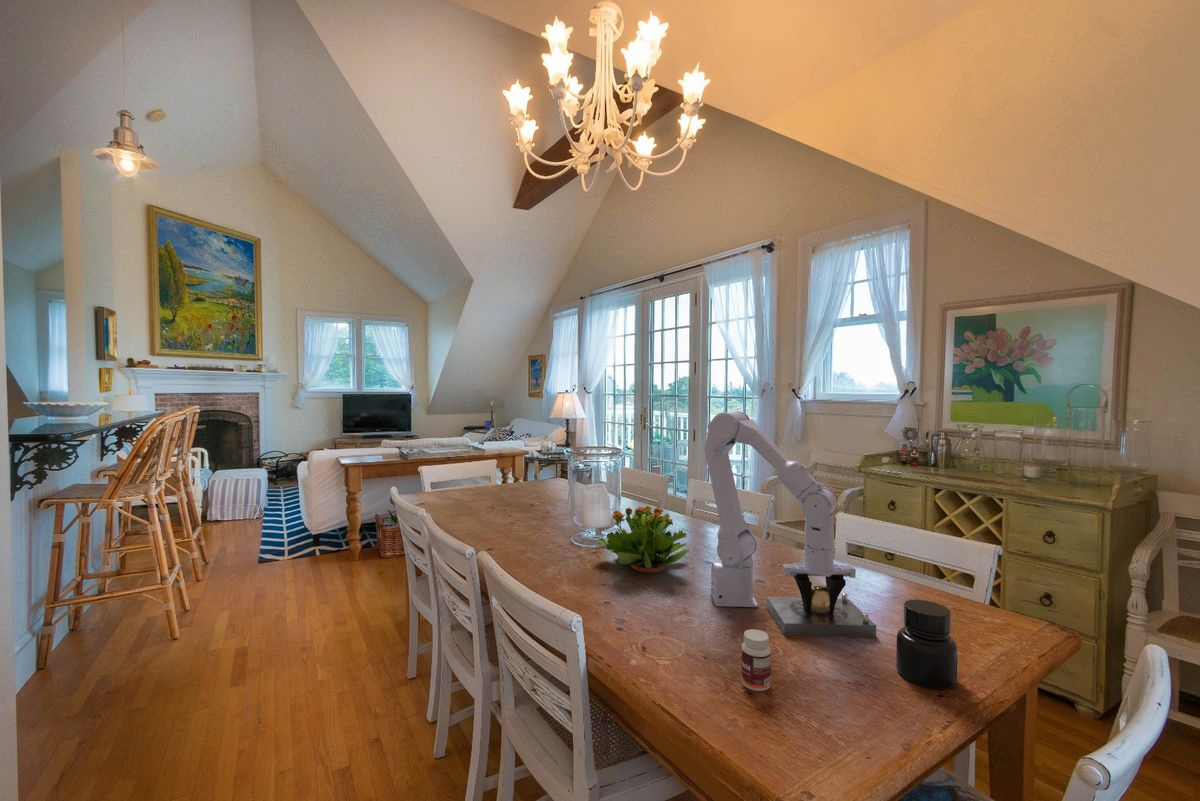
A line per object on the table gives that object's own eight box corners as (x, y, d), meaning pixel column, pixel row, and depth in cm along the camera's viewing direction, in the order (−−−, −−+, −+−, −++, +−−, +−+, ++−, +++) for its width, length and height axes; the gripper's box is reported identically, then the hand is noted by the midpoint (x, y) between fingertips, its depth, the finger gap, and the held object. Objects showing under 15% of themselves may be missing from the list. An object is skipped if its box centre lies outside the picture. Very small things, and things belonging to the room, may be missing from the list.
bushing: (810, 622, 107) (810, 591, 107) (805, 613, 111) (805, 583, 111) (832, 623, 106) (833, 592, 106) (826, 614, 111) (827, 584, 110)
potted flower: (670, 549, 157) (670, 493, 157) (713, 576, 135) (714, 510, 135) (594, 559, 149) (594, 499, 148) (626, 589, 126) (627, 519, 126)
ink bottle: (972, 686, 86) (973, 615, 85) (934, 697, 83) (936, 623, 82) (918, 657, 95) (919, 593, 94) (882, 666, 92) (883, 600, 91)
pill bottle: (736, 676, 88) (737, 628, 88) (763, 675, 89) (764, 627, 89) (747, 692, 84) (747, 642, 83) (775, 691, 84) (775, 641, 84)
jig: (784, 635, 103) (784, 615, 103) (766, 607, 116) (767, 589, 116) (876, 637, 102) (876, 617, 102) (848, 609, 115) (848, 591, 115)
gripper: (790, 551, 105) (789, 616, 106) (862, 552, 104) (861, 618, 105) (779, 541, 112) (779, 602, 113) (847, 542, 111) (846, 604, 112)
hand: (818, 609), depth 109 cm, fingers closed on bushing, 4 cm apart
